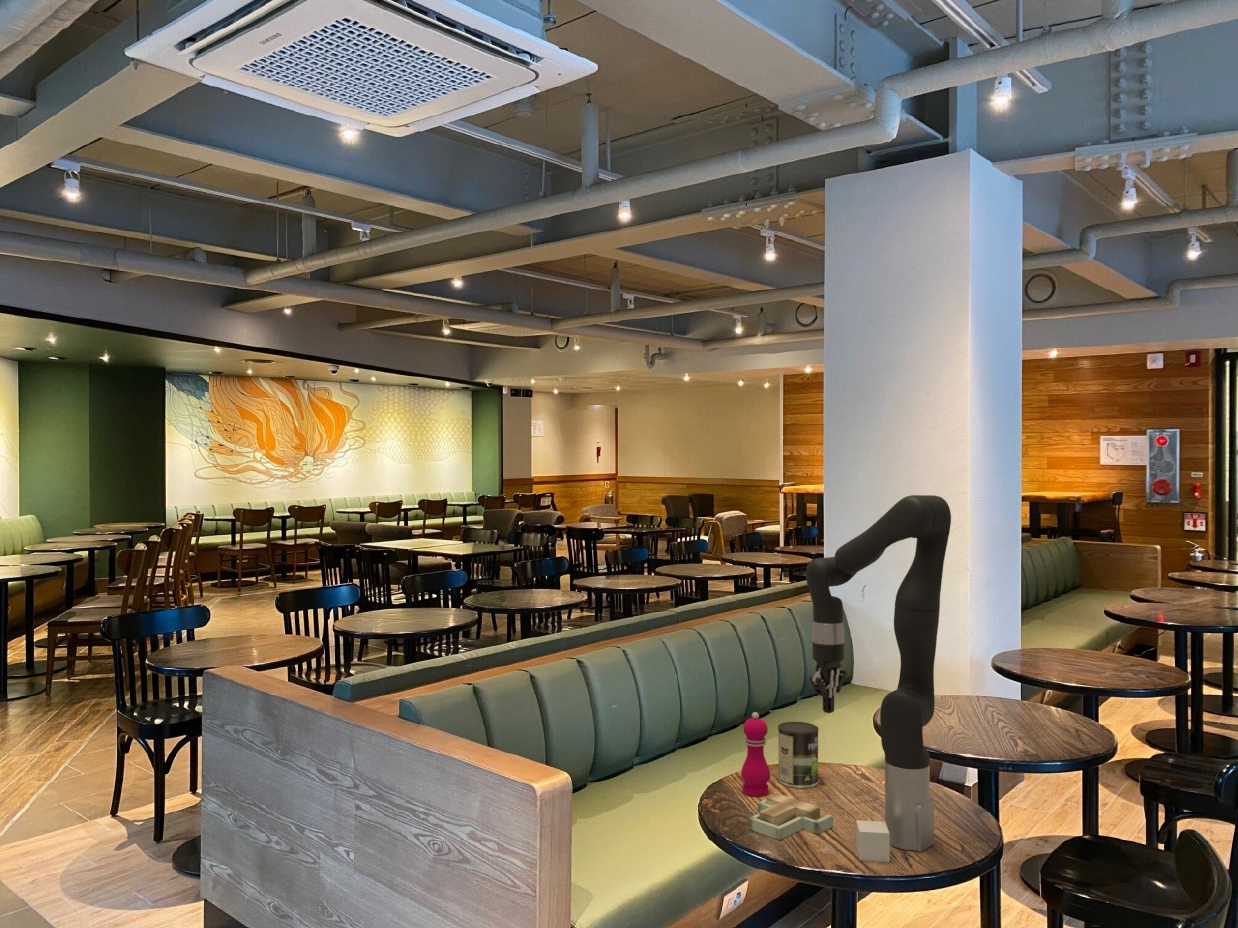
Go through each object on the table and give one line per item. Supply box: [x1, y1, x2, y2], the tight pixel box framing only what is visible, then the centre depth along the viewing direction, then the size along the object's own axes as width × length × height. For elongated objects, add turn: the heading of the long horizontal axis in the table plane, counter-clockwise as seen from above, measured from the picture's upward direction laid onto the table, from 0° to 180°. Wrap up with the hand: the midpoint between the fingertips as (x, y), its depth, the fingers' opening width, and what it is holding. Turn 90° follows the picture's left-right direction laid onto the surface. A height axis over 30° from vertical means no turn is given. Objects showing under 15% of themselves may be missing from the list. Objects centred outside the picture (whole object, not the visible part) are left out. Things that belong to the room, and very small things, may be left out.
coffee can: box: [777, 721, 819, 789], centre depth 229 cm, size 10×10×14 cm
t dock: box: [748, 798, 834, 841], centre depth 201 cm, size 16×15×2 cm
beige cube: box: [855, 819, 891, 863], centre depth 186 cm, size 6×6×6 cm
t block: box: [759, 792, 821, 826], centre depth 202 cm, size 12×12×4 cm
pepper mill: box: [740, 711, 771, 797], centre depth 222 cm, size 7×7×20 cm
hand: (828, 711), depth 214 cm, fingers closed
